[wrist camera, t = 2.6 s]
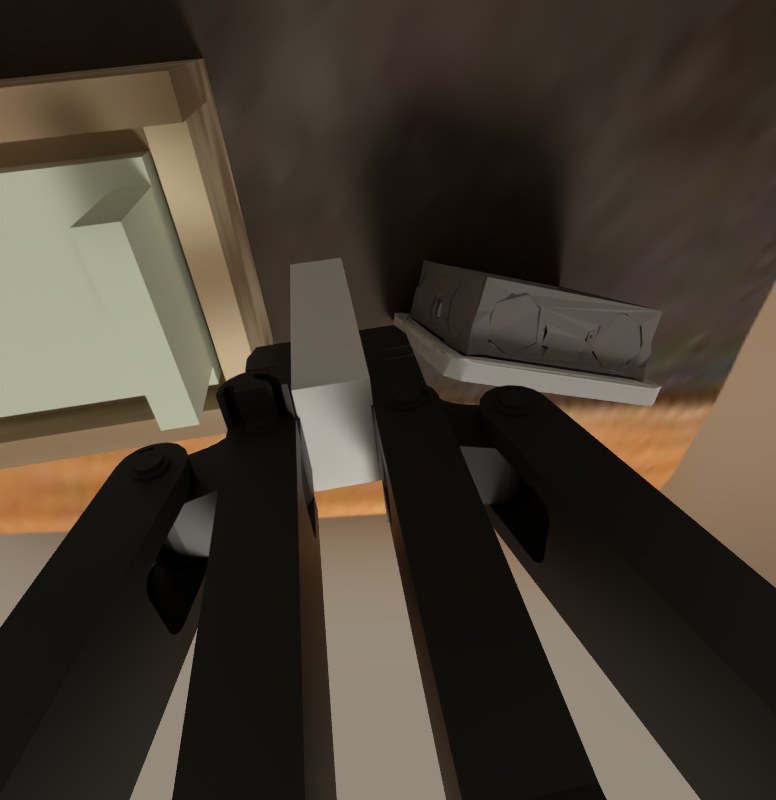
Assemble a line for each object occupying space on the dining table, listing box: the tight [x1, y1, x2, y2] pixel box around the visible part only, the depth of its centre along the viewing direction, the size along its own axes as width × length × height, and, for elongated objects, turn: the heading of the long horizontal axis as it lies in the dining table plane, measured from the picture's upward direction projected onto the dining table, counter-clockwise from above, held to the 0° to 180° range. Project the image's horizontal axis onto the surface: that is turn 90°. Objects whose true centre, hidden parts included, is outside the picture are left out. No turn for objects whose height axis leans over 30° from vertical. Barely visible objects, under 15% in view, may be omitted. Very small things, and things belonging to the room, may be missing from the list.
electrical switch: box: [393, 260, 663, 406], centre depth 23 cm, size 9×5×9 cm, turn 76°
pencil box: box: [0, 58, 273, 469], centre depth 19 cm, size 12×16×7 cm
